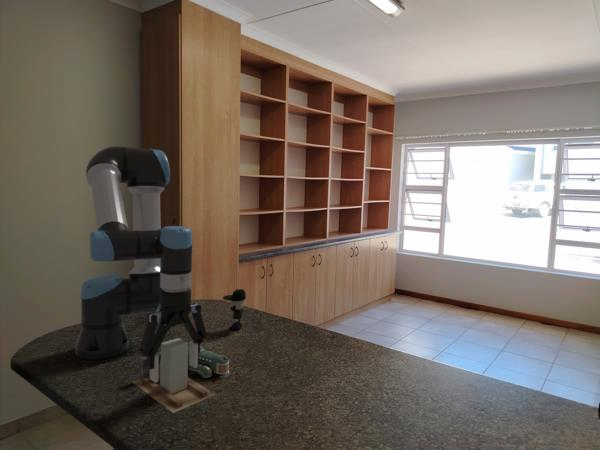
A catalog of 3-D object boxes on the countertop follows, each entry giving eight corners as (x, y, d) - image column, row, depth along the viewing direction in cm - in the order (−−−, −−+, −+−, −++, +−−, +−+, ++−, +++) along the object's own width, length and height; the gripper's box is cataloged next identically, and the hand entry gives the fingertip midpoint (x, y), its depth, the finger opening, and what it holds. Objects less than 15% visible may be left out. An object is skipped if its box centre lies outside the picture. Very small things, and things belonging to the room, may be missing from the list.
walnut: (150, 380, 108) (150, 364, 108) (165, 374, 111) (165, 359, 111) (158, 386, 105) (158, 370, 105) (173, 380, 108) (174, 364, 108)
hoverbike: (217, 388, 108) (218, 358, 107) (148, 366, 119) (148, 338, 118) (238, 373, 117) (239, 346, 116) (171, 354, 128) (172, 329, 127)
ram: (159, 387, 104) (159, 342, 103) (176, 380, 108) (177, 337, 107) (169, 394, 101) (170, 348, 100) (187, 387, 105) (188, 342, 103)
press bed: (132, 386, 107) (132, 360, 106) (173, 371, 116) (173, 347, 115) (173, 417, 94) (173, 388, 93) (215, 398, 103) (216, 371, 102)
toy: (225, 323, 156) (226, 285, 155) (247, 325, 155) (248, 287, 154) (219, 330, 149) (220, 290, 147) (242, 332, 148) (243, 292, 146)
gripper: (138, 300, 90) (138, 394, 93) (222, 284, 108) (220, 364, 110) (123, 293, 95) (123, 382, 98) (205, 278, 113) (203, 355, 115)
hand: (174, 372), depth 104 cm, fingers open, 10 cm apart
